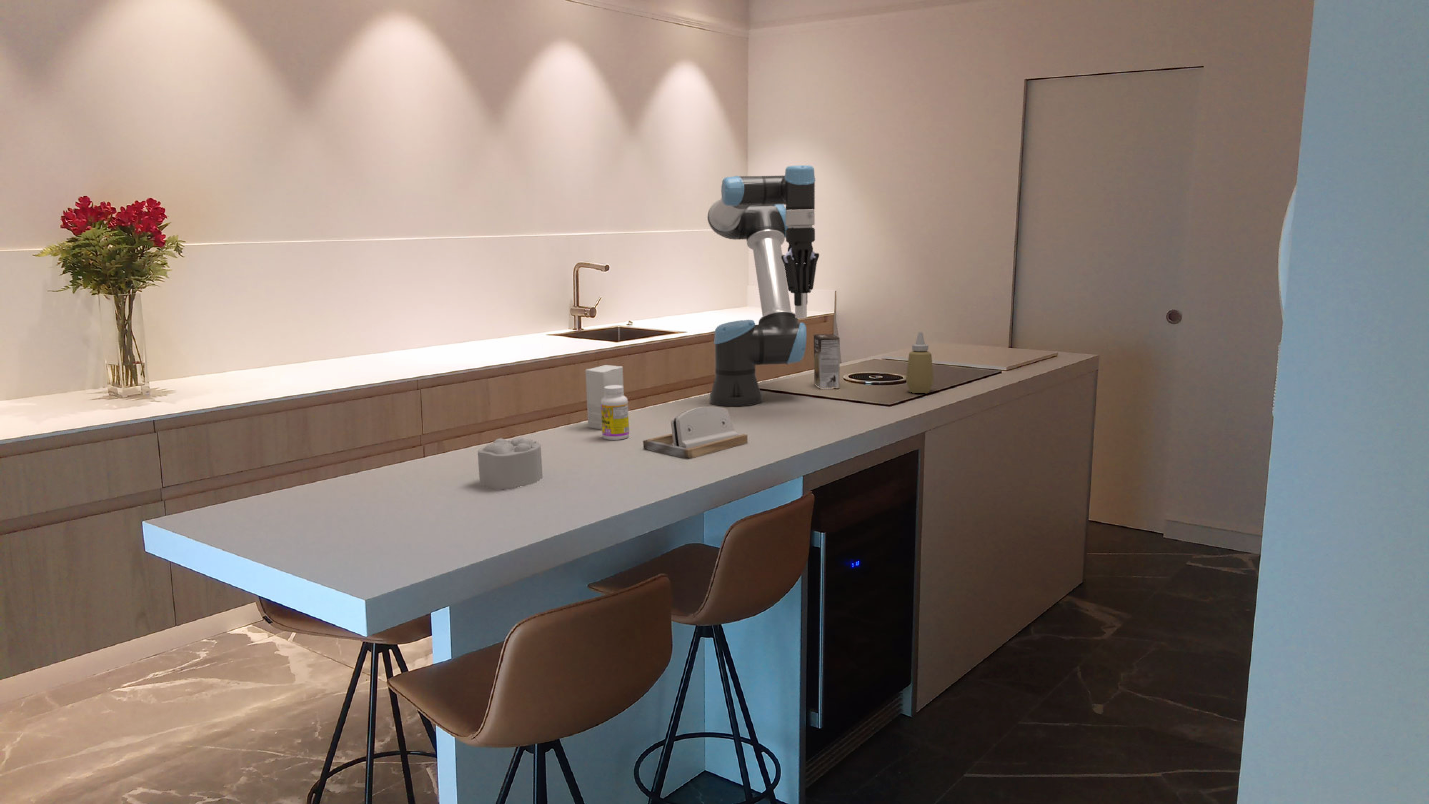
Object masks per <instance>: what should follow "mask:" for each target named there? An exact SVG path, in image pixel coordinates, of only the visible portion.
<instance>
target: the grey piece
mask: <svg viewBox="0 0 1429 804" xmlns="http://www.w3.org/2000/svg"><path fill="white" fill-rule="evenodd" d="M670 428H671V434H672V436H673V443H672V445H674V446H678V447H683V448H688V449H689V448H693V447H696V446H700V445H704V444H708V443H712V442H716V441H719V440H723V439H727V438H731V437H735V436H739V435H740V434H739V433H738V432H737V431H736V430H735V428H734V426H733V422H732V420H731V417H730V414H729V411H728V410H727V409H726V408H724V407H722V406H698V407H694V408H691V409H689V410H686V411H684V412H681V413H679V414H678V415H677V416H675V417H674V418H672V420H671V421H670Z"/></svg>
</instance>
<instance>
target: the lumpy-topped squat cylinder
mask: <svg viewBox="0 0 1429 804" xmlns="http://www.w3.org/2000/svg"><path fill="white" fill-rule="evenodd" d="M477 459H478V460H477V462H478V475H479V485H480V487H481V486H482V487H486V486H488V487H487V488H491V487H492V488H491V489H493V488H494V490H496V489H504V490H503V491H505V489H509V490H514V489H518V487H519V488H521V487H520V486H523V487H527V486H529V484H530V485H533V484H535V483H536V484H537V483H538V482H539V481H541V480H542V479H543V478H544V477H543V463H542V461H543V460H542V447H541V444H540V442H539V441H535V440H532V439H530V438H524V437H522V436H521V437H519V436H518V437H513V439H511V440H507V439H504V438H497V439H495V440H494V441H493V443H489V444H486V445H485V446H484V447H482V448H480V449H478V450H477ZM540 479H541V480H540ZM537 481H538V482H537ZM526 485H527V486H526Z"/></svg>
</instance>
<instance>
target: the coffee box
mask: <svg viewBox="0 0 1429 804" xmlns="http://www.w3.org/2000/svg"><path fill="white" fill-rule="evenodd" d="M840 340H841V339H840V337H839V336H836V335H835V334H834V333H831V334H827V333H825V334H824V333H823V334H822V333H819V334H817V333H816V334H813V370H814V372H813V377H814V378H813V379H814V383H815V384H816V385H817V386H819V387H820V388H827V387H828V388H832V387H839V388H840V369H841V367H840V357H841V356H840V355H841V353H840V352H841V351H840V348H841V347H840V342H841V341H840ZM817 386H816V387H817Z"/></svg>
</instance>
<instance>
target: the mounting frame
mask: <svg viewBox="0 0 1429 804" xmlns="http://www.w3.org/2000/svg"><path fill="white" fill-rule="evenodd" d="M738 435H739V436H735V437H731V438H727V439H723V440H719V441H716V442H712V443H708V444H704V445H700V446H696V447H693V448H689V449H688V448H685V447H678V446H674V444H673V436H672V433H669V434H665V435H662V436H657V437H653V438H648V439H643V440H642V444H643V450H646V451H652V452H656V453H659V454H664V455H669V456H672V457H678V458H682V459H686V460H691V459H694V458H698V457H701V456H704V455H708V454H712V453H716V452H720V451H723V450H728V449H730V448H734V447H739V446H742V445H746V444H748V443H749V442H748V434H745V433H743V434H738ZM745 443H746V444H745Z"/></svg>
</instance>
